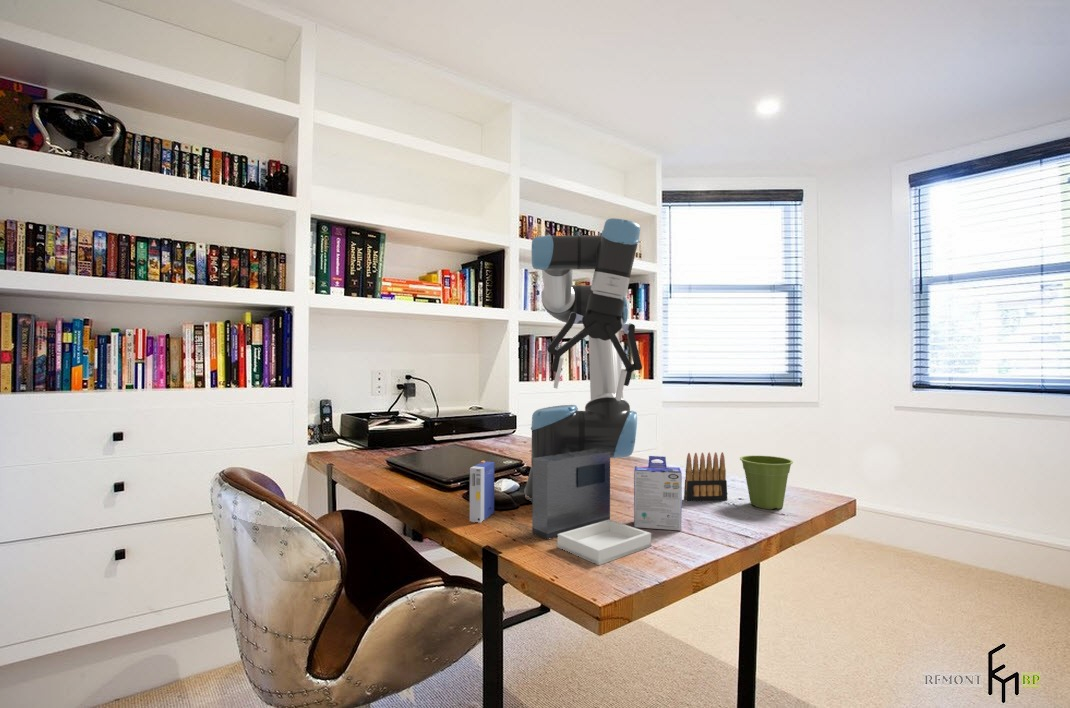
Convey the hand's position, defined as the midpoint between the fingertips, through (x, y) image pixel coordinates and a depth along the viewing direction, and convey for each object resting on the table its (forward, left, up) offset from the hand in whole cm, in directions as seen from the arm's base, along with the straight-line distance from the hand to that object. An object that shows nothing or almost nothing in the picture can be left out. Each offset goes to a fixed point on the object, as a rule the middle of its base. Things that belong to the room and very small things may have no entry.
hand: (586, 393), depth 109 cm
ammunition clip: (+5, +37, -28) cm, 47 cm away
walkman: (-18, -15, -28) cm, 36 cm away
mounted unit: (-1, -4, -28) cm, 28 cm away
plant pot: (+17, +44, -28) cm, 55 cm away
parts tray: (+11, -7, -28) cm, 31 cm away
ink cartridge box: (+10, +11, -28) cm, 32 cm away
